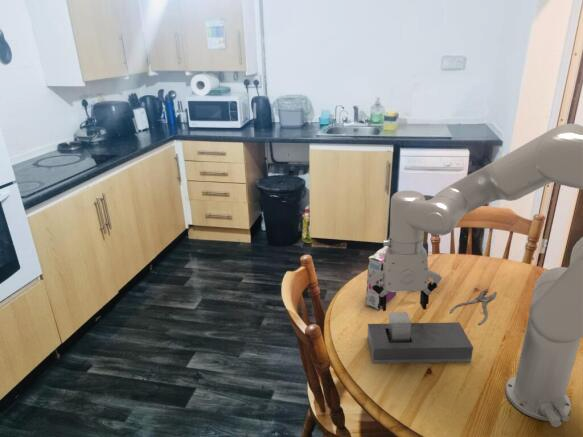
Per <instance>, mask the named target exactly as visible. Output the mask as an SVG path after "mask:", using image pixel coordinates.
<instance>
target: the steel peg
mask: <svg viewBox="0 0 583 437" xmlns="http://www.w3.org/2000/svg"><path fill="white" fill-rule="evenodd" d="M388 313H389V316H388V318H389V319H388V324H389V328H388V340H389V343H409V342H410V331H411V323H412V321H411V318H410V316H409V314H408V312H407V311H395V312H394V311H391V312H390V311H389V312H388Z"/></svg>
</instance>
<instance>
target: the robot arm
mask: <svg viewBox="0 0 583 437" xmlns="http://www.w3.org/2000/svg"><path fill="white" fill-rule="evenodd" d="M551 183H554V184H557V185H560V186H565V187H568V188H573V189H577V190H583V125H580V124H577V123H565V124H560V125H558V126H555V127H552V129H549V130H548V131H546V132H544V133H542V134H541V135H539V136H537V137H535V138H533V139H532V140H529V141H528V142H526V143H525V144H523V145H521V146H519V147H518V148H516V149H514V150H512V151H511V152H509V153H507V154H505V155H504V156H501V157H500V158H498V159H496V160H494V161H492V162H491V163H489V164H487V165H485V166H483V167H481V168H479V169H478V170H477V169H476V170H475V171H473V172H472V173H470V174H468V175H466V176H464V177H462V178H461V179H458V180H456V181H455V182H453V183H451V184H450V185H448V186H446V187H444V188H442V189H441V190H440V191H438V192H437V193H436V194H435V195H433V196H434V197H433V198H432V199H430V200H425V197H424V195H425V194H423V193H421V192H420V191H415V190H399V191H397V192H395V193H393V194H392V196H391V198H390V217H389V236H388V238H387V239H383V241H382V243H383V247H384V246H389V247H387V250H386V253H385V258H384V264H383V271H381V272H379V273H377V274H375V275H373V276H370V277H369V278H368V281H369V283H370V285H371V287H372V288H373V290H374V291H375V292H376V293H378V294H379V306H382V308H381V310H382V311H383V312H386V311H387V303H386V301H387V298H386V293H387V292H388V291H389V292H396V293H403V292H404V293H405V292H420V295H419V297H420V298H419V304H420V306H421V308H422V310H427V305H429V302H430V295H432V292H433V291H434V290H435V289H437V288H438V285H439V284H440V282H441V281H442V280H443V278H442V275H441V274H439V273H437V272H435V271H432V270H430V269H429V262H428V260H429V259H428V258H427V252H426V250H425V248H424V247H423V238H424V232H427V233H428V234H430V235H433V236H438V237H439V236H446V235H448V234H450V233H451V232H453V231H454V229H455V228H456V227H457V225H458V224H459V222H460V221H461V219H462V218H463V217H464V216H466V215H468V214H469V213H471V212H473V211H474V210H477V209H479V208H481V207H483V206H486V205H487V204H490V203H493V202H496V201H500V200H503V201H508V202H510V201H511V202H512V201H516V200H518V199H521V198H523V197H525V196H527V195H529V194H531V193H533V192H535V191H537V190H539V189H542V188H543V187H545V186H547V185H549V184H551ZM429 278H431V279H432V280H431V281H430V282H429ZM380 279H383V283H382V284H381V285H380V286H379V285H377V284H376V283H375V282H376V281H378V280H380ZM528 313H529V315H528V320H527V324H526V327H525V328H526V330H525V333H524V337H523V342H522V347H521V351H520V356H519V359H518V366H517V371H516V375H514V376H512V377H510V378H509V379H508V380H507V382H506V383H505V389H504V392H505V395H506V397H507V399H508V400H509V402H510V403H511V405H512V406H514V407H515V408H516V409H517V410H518V411H520V412H521V413H523V414H525V415H527V416H529V417H531V418H534V419H536V420H541V421H545V422H549V424H550V425H551V426H552V427H554V428H558V427H560V426H561V425H562V421H563V422H568V421H569V420H570V416H569V415H570V412H571V408H572V404H571V399H570V398H569V396H568V394H567V389H568V388H569V387H568V386H569V382H570V379H571V375H572V372H573V368H574V364H575V360H576V357H577V354H578V353H577V352H578V350H579V346H580V344H581V340H582V339H583V236H582V237H581V238H580V239H579V240H577V242H576V243H575V244H574V246H573V247H572V250H571V254H570V259H569V266H568V267H564V266H559V267H553V268H550V269H547V270H546V271H544V272H543V273H542V274H540V275H539V277H538V279H537V280H536V281H535V285H534V288H533V291H532V297H531V302H530V307H529V312H528Z"/></svg>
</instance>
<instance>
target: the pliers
mask: <svg viewBox="0 0 583 437" xmlns="http://www.w3.org/2000/svg"><path fill="white" fill-rule="evenodd" d="M488 290H489V288H485V289H484V290H483V291H481V292H480V293H479V294H478V296H477V297H476V298H475V299H474V300H470V301H466V302H461V303H458V304H456V305H455V306H453V307H452V308H451V309H450V310H449V314H452V313H453V312H454V311H455V310H456V309H458V308H459V307H463V306H467V305H473V304H478V303H480V302H481V303H482V304H481V305H482V306H481V307H482V309H483V313H484V317H483V318H482V320H481V321H480V322H478V323H477V324H478V325H477V326H481V325H483V324H484V323H485V322H486V321H487V319H488V316H489V314H488V309H487V305H488V304H489V302H492V301H493V300H495V298H496V296H497V293H498V292H497V291H495V292H493V293H492V294H490V295H489V296H486V295H487V293H488Z"/></svg>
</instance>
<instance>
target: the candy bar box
mask: <svg viewBox="0 0 583 437" xmlns="http://www.w3.org/2000/svg"><path fill="white" fill-rule="evenodd" d="M387 247H389V246H384V245H383V246H382V247H381V248H380V249H378V250H377V251H375V252H374V253H373V254H372V255H370V256H369V257H368V262H367V264H368V266H367V277H366V278H367V280H366V293H365V294H366V298H365V306H368V307H369V308H372V309H375V310H377V311H380V310H382V306H379V294H378V293H376V292H375V291H374V290H373V288H372V287H371V285H370V283H369V281H368V278H369V277H370V276H373V275H375V274H377V273H379V272H381V271H383V264H384V258H385V253H386V250H387ZM375 283H376V284H377V285H379V286H380V285H381V284H382V283H383V279H380V280H378V281H376V282H375ZM396 295H397V292H389V291H388V292H387V293H386V298H387V301H386V304H387V303H389V302H390V300H392V299H393V298H394V297H395V296H396Z"/></svg>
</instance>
